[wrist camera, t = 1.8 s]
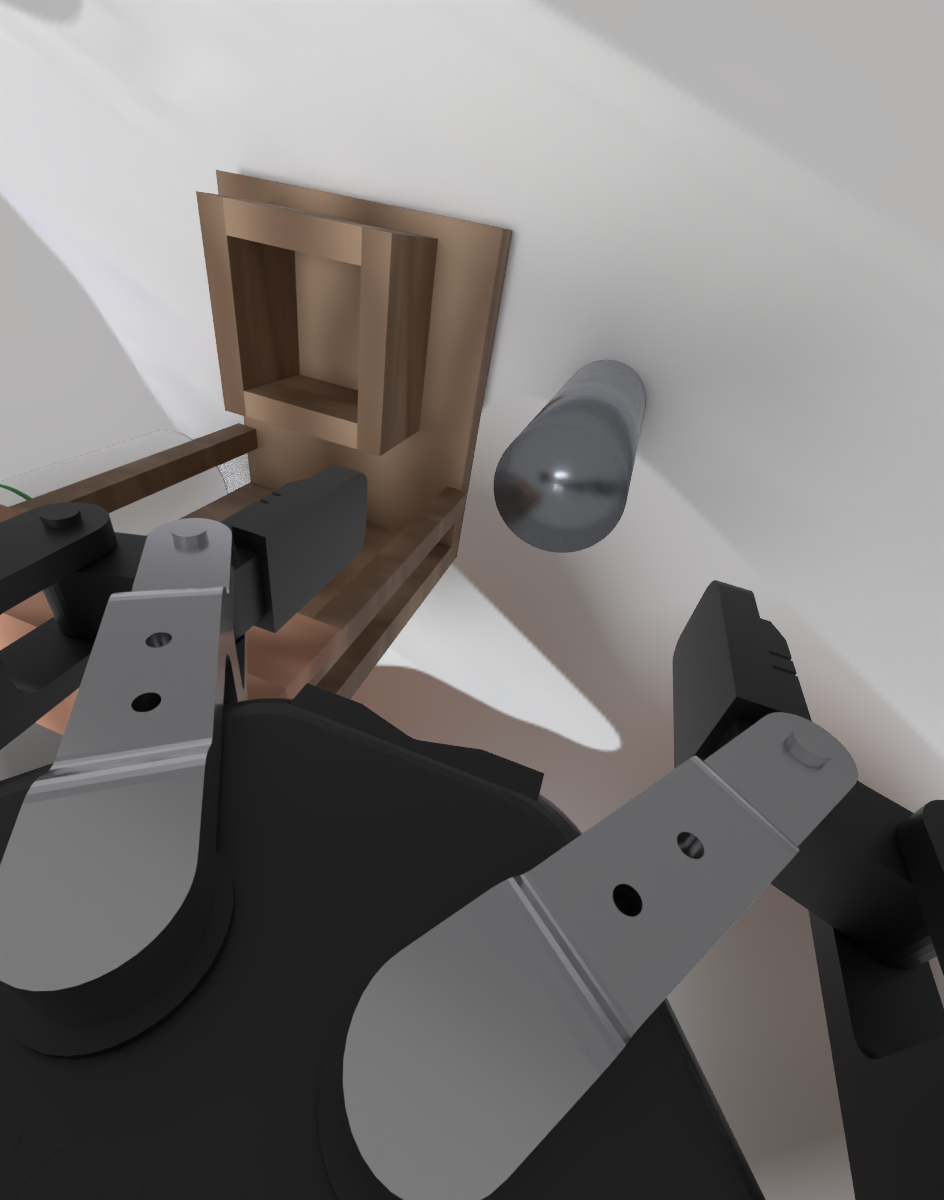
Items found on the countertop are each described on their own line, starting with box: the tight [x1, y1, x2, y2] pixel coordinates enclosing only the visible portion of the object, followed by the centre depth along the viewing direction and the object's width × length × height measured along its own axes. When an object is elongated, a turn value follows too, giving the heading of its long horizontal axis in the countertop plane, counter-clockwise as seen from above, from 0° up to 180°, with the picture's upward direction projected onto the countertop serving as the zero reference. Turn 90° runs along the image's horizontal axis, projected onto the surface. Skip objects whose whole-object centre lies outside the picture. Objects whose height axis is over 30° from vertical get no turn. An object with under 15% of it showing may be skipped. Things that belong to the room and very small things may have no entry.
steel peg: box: [494, 360, 646, 552], centre depth 20 cm, size 4×4×12 cm
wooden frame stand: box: [0, 170, 512, 735], centre depth 21 cm, size 15×18×19 cm
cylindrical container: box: [0, 430, 227, 536], centre depth 26 cm, size 7×7×25 cm
